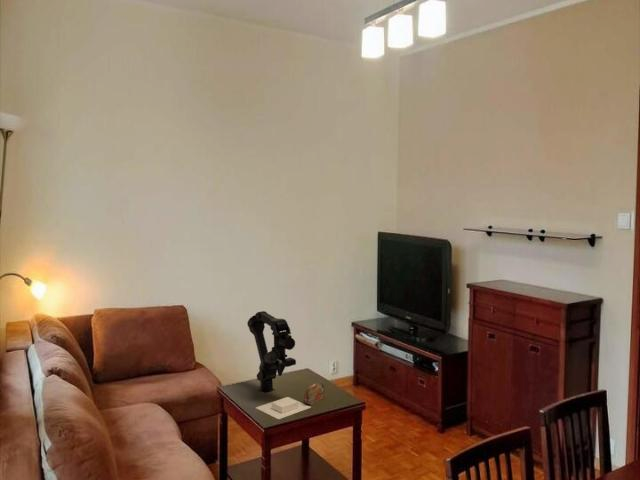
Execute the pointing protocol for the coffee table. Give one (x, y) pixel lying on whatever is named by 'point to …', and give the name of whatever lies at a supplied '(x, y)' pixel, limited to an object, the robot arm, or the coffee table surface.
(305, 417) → the coffee table surface
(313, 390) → the tin
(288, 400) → the tile
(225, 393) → the coffee table surface
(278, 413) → the felt mat
